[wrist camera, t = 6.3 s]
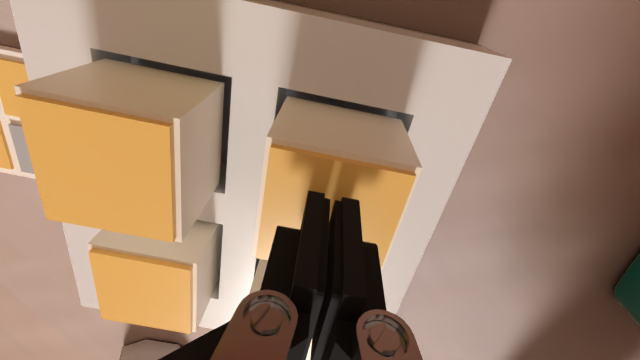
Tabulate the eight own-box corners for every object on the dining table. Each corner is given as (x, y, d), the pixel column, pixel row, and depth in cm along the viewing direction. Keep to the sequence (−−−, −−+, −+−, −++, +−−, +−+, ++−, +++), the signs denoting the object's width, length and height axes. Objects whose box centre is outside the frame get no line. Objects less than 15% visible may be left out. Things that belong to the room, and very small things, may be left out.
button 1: (401, 119, 15) (424, 172, 11) (371, 212, 18) (379, 284, 14) (287, 96, 15) (264, 140, 11) (273, 193, 18) (250, 260, 13)
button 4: (226, 208, 20) (194, 268, 16) (222, 270, 23) (193, 336, 19) (139, 191, 20) (83, 248, 16) (145, 256, 23) (98, 320, 18)
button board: (477, 44, 17) (512, 58, 13) (371, 309, 27) (376, 357, 23) (71, -45, 16) (-4, -54, 13) (116, 263, 26) (81, 305, 23)
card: (68, 59, 19) (58, 62, 18) (90, 183, 23) (82, 189, 22) (-83, 28, 18) (-100, 29, 18) (-34, 159, 22) (-47, 165, 21)
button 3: (224, 82, 15) (175, 122, 11) (219, 183, 18) (178, 247, 13) (105, 58, 15) (5, 88, 10) (117, 163, 17) (42, 222, 13)
